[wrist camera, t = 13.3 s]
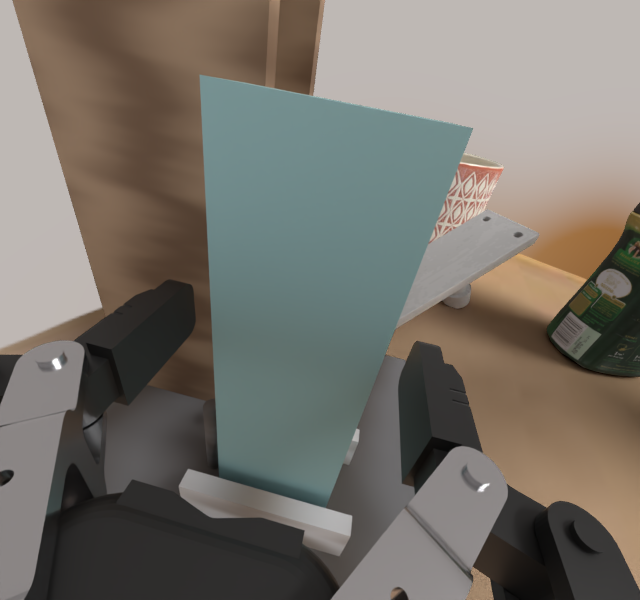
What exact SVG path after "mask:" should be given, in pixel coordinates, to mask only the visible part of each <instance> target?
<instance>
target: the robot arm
mask: <svg viewBox="0 0 640 600" xmlns="http://www.w3.org/2000/svg"><path fill="white" fill-rule="evenodd" d="M195 322H196V315H195V302H194V290H193V287H192V285H191V284H188V283H184V282H180V281H176V280H172V279H168V280H166V281H165V282H163V283H162V284H161V285H159V286H158V287H157V288H156V289H154V290H153V289H150V290H147V291H145V292H142V293H140V294H137V295H135V296H134V297H132V298H131V299H130V300H128V301H127V302H125V303H124V305H123V306H120V307H119V308H117V309H116V310H115V311H114V313H111V314H109V315H108V316H107V317H105V318H104V319H102V320H101V321H100V322H98V323H97V324H96V325H94V326H93V327H92V328H90V329H89V330H88V331H86V332H85V333H84V334H82V335H81V336H79V337H78V338H77V339H75V340H74V341H67V340H63V341H54V342H49V343H45V344H42V345H40V346H37V347H35V348H33V349H31V350H29V351H28V352H26V353H25V354H24V355H0V600H465V599H466V597H467V595H468V593H469V591H470V588H471V586H472V583H473V575H472V574H471V569H472V567H474V568H476V569H477V570H479V571H480V572H482V573H483V574H484V575H486V576H487V577H489V578H490V580H491V586H492V592H493V597H494V600H640V590H639V588H638V586H637V584H636V582H635V580H634V578H633V576H632V574H631V571H630V569H629V567H628V565H627V563H626V561H625V559H624V557H623V555H622V553H621V551H620V549H619V547H618V545H617V543H616V542H615V540H614V539H613V537H612V536H611V535H610V533H609V532H608V531H607V530H606V529H605V527H604V526H603V525H602V524H601V523H600V522H599V521H598V520H597V519H595V518H594V517H593V516H592V515H591V514H589V513H588V512H587V511H585V510H584V509H582V508H580V507H578V506H576V505H574V504H572V503H569V502H565V501H558V502H555V503H553V504H551V505H550V506H549V507H547V508H546V507H544V506H543V505H541V504H539V503H537V502H536V501H534V500H532V499H531V498H529V497H527V496H525V495H524V494H522V493H520V492H518V491H517V490H515V489H513V488H512V487H510V486H509V485H508V484H506V481H505V478H504V476H503V474H502V473H501V471H500V470H499V468H498V467H497V466H496V465H495V463H494V462H493V461H492V460H491V459H489V458H488V457H487V456H486V455H484V454H483V451H482V448H481V444H480V441H479V437H478V434H477V430H476V427H475V423H474V419H473V416H472V412H471V409H470V407H469V401H468V398H467V395H466V391H465V387H464V384H463V380H462V378H461V376H460V375H459V374H458V372H457V371H456V369H455V368H454V367H453V365H449V364H445V363H444V361H443V356H442V352H441V348H440V347H439V346H436V345H432V344H428V343H424V342H420V341H416V342H415V343H414V345H413V347H412V349H411V352H410V354H409V356H408V358H407V361H406V363H405V365H404V367H403V369H402V372H401V375H400V378H399V384H398V401H399V426H400V451H401V476H402V484H405V485H408V486H412V487H414V492H415V496H414V497H413V499H412V500H411V501H410V502H409V503H408V505H406V506H405V507H404V509H403V510H402V511H401V512H400V514H399V515H398V516H397V517H396V519H395V520H394V521H393V522H392V524H391V525H390V526H389V527H388V529H387V530H386V531H385V532H384V534H383V535H382V536H381V537H380V539H379V540H378V541H377V542H376V544H375V545H374V546H373V547H372V549H371V550H370V551H369V552H368V554H367V555H366V556H365V557H364V559H363V560H362V561H361V562H360V564H359V565H358V566H357V567H356V569H355V570H354V571H353V572H352V574H351V575H350V576H349V577H348V579H347V580H346V581H345V582H344V584H343V585H342V586H341V587H340V586H339V584H338V582H337V580H336V579H335V577H334V576H333V574H332V573H331V571H330V570H329V568H328V567H327V566H326V565H325V563H324V562H323V561H322V560H321V559H320V557H318V556H317V555H316V554H315V553H314V552H313V551H312V550H311V549H309V548H308V547H307V546H305V545H304V544H302V542H303V537H304V532H305V530H302V529H299V528H295V527H292V526H288V525H285V524H282V523H278V522H275V521H272V520H268V519H265V518H261V517H256V518H212V517H209V516H207V515H206V514H204V513H203V512H201V511H200V510H199V509H197V508H196V507H194V506H193V505H192V504H190V503H189V502H187V501H186V500H185V499H183V498H182V497H180V496H179V495H178V494H176V493H175V492H173V491H170V490H167V489H163V488H160V487H157V486H153V485H150V484H147V483H143V482H140V481H136V480H133V479H132V480H131V482H130V483H129V485H128V486H127V487H126V489H125V490H124V492H120V493H113V494H107V488H106V482H105V475H104V466H105V450H106V433H107V417H108V415H107V411H106V409H107V408H108V407H109V406H110V405H111V404H112V403H113V402H116V403H119V404H123V405H127V406H129V405H130V403H131V402H132V401H133V400H134V399H135V398H136V397H137V395H138V394H139V393H140V392H141V391H142V390H143V389H144V387H145V386H146V385H147V384H148V383H149V382H150V381H151V379H152V378H153V377H154V376H155V375H156V374H157V373H158V371H159V370H160V369H161V368H162V367H163V366H164V364H165V363H166V362H167V361H168V360H169V359H170V358H171V356H172V355H173V354H174V353H175V352H176V351H177V350H178V348H179V347H180V346H181V345H182V344H183V343H184V342H185V340H186V339H187V338H188V337H189V336H190V335H191V333H192V331H193V329H194V326H195Z"/></svg>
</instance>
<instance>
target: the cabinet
mask: <svg viewBox="0 0 640 600" xmlns="http://www.w3.org/2000/svg"><path fill="white" fill-rule="evenodd" d="M324 3H325V0H13V4H14V7H15V10H16V14H17V17H18V20H19V24H20V27H21V31H22V34H23V38H24V41H25V44H26V48H27V51H28V54H29V58H30V62H31V65H32V68H33V72H34V75H35V78H36V82H37V85H38V89H39V92H40V95H41V99H42V102H43V105H44V109H45V112H46V116H47V119H48V123H49V126H50V129H51V132H52V136H53V140H54V143H55V147H56V150H57V153H58V157H59V160H60V163H61V167H62V170H63V174H64V177H65V180H66V184H67V187H68V191H69V194H70V198H71V201H72V204H73V208H74V211H75V215H76V218H77V221H78V225H79V228H80V232H81V235H82V238H83V242H84V245H85V249H86V252H87V255H88V259H89V262H90V265H91V269H92V272H93V276H94V279H95V283H96V286H97V289H98V293H99V296H100V300H101V303H102V306H103V310H104V313H105V317H107V316H108V315H109V314H111V313H114V311H115V310H116V309H117V308H119V307H120V306H123V305H124V303H125V302H127V301H128V300H130V299H131V298H132V297H134V296H135V295H137V294H140V293H142V292H145V291H147V290H150V289H153V290H154V289H156V288H157V287H158V286H159V285H161V284H162V283H163V282H165V281H166V280H168V279H172V280H176V281H180V282H184V283H188V284H191V285H192V287H193V290H194V302H195V315H196V322H195V326H194V329H193V331H192V333H191V335H190V336H189V337H188V338H187V339H186V340H185V342H184V343H183V344H182V345H181V346H180V347H179V348H178V350H177V351H176V352H175V353H174V354H173V355H172V356H171V358H170V359H169V360H168V361H167V362H166V363H165V364H164V366H163V367H162V368H161V369H160V370H159V371H158V373H157V374H156V375H155V376H154V377H153V378H152V379H151V381H150V382H149V383H148V384H147V385H146V386H145V387H144V389H143V390H142V391H141V392H140V393H139V394H138V395H137V397H136V398H135V399H134V400H133V401H132V402H131V403H130V405H129V406H127V405H123V404H119V403H116V402H113V403H112V404H111V405H110V406H109V407H108V408H107V409H106V411H107V415H108V417H107V433H106V450H105V466H104V475H105V482H106V488H107V494H113V493H120V492H124V490H125V489H126V487H127V486H128V485H129V483H130V482H131V480H132V479H133V480H136V481H140V482H143V483H147V484H150V485H153V486H157V487H160V488H163V489H167V490H170V491H173V492H175V493H176V494H178V495H179V496H180V497H182V498H183V499H185V500H186V501H187V502H189V503H190V504H192V505H193V506H194V507H196V508H197V509H199V510H200V511H201V512H203V513H204V514H206V515H207V516H209V517H212V518H256V517H261V518H265V519H268V520H272V521H275V522H278V523H282V524H285V525H288V526H292V527H295V528H299V529H302V530H305V532H304V537H303V542H302V544H304V545H305V546H307V547H308V548H309V549H311V550H312V551H313V552H314V553H315V554H316V555H317V556H318V557H320V559H321V560H322V561H323V562H324V563H325V565H326V566H327V567H328V568H329V570H330V571H331V573H332V574H333V576H334V577H335V579H336V580H337V582H338V584H339V586H340V587H341V586H342V585H343V584H344V582H345V581H346V580H347V579H348V577H349V576H350V575H351V574H352V572H353V571H354V570H355V569H356V567H357V566H358V565H359V564H360V562H361V561H362V560H363V559H364V557H365V556H366V555H367V554H368V552H369V551H370V550H371V549H372V547H373V546H374V545H375V544H376V542H377V541H378V540H379V539H380V537H381V536H382V535H383V534H384V532H385V531H386V530H387V529H388V527H389V526H390V525H391V524H392V522H393V521H394V520H395V519H396V517H397V516H398V515H399V514H400V512H401V511H402V510H403V509H404V507H405V506H406V505H408V503H409V502H410V501H411V500H412V499H413V497H414V496H415V492H414V487H412V486H408V485H405V484H402V476H401V451H400V426H399V401H398V384H399V378H400V375H401V372H402V369H403V367H404V365H405V363H406V362H405V360H403V359H399V358H395V357H391V356H387V355H385V356H384V359H383V362H382V364H381V367H380V369H379V372H378V374H377V377H376V380H375V382H374V385H373V387H372V390H371V393H370V395H369V398H368V400H367V403H366V405H365V408H364V411H363V413H362V416H361V418H360V421H359V423H358V426H357V429H356V431H355V434H354V436H353V439H352V441H351V444H350V447H349V449H348V452H347V454H346V457H345V459H344V462H343V465H342V467H341V470H340V472H339V475H338V477H337V480H336V483H335V485H334V488H333V490H332V493H331V495H330V498H329V501H328V503H327V506H326V508H323V507H319V506H316V505H312V504H309V503H305V502H302V501H298V500H295V499H291V498H288V497H284V496H281V495H278V494H274V493H271V492H267V491H264V490H260V489H257V488H253V487H250V486H246V485H243V484H239V483H236V482H232V481H229V480H225V479H222V478H219V464H218V444H217V423H216V403H215V382H214V362H213V341H212V320H211V300H210V279H209V259H208V238H207V218H206V197H205V176H204V156H203V135H202V115H201V94H200V75H205V76H210V77H216V78H221V79H227V80H233V81H238V82H244V83H249V84H254V85H259V86H264V87H269V88H275V89H280V90H285V91H290V92H295V93H300V94H305V95H310V96H313V92H314V84H315V75H316V67H317V59H318V52H319V43H320V35H321V27H322V19H323V11H324Z"/></svg>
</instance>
